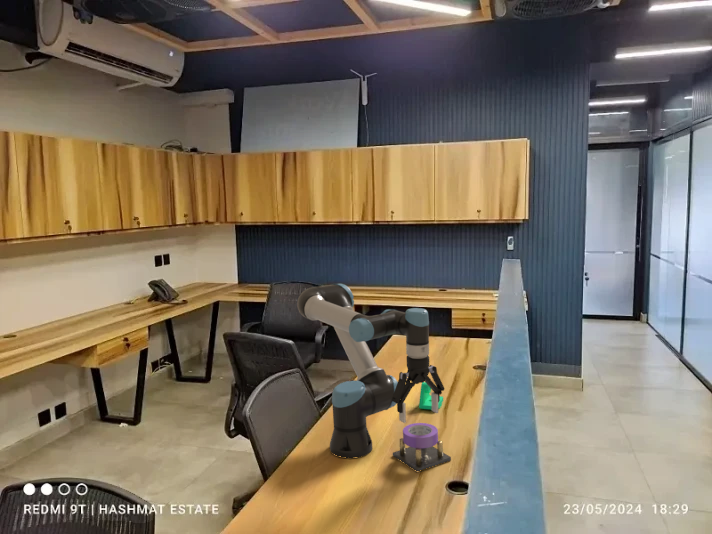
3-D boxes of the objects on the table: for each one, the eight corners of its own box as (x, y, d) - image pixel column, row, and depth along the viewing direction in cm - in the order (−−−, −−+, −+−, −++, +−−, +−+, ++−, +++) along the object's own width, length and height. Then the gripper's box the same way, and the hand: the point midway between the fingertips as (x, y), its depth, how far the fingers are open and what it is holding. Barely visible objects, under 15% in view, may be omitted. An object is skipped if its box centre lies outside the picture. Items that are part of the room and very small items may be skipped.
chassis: (417, 472, 171) (416, 454, 170) (392, 455, 183) (392, 438, 182) (451, 460, 178) (450, 442, 177) (425, 445, 190) (424, 428, 189)
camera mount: (437, 412, 219) (436, 388, 218) (419, 410, 222) (418, 387, 221) (443, 402, 230) (443, 379, 229) (426, 400, 233) (425, 377, 232)
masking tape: (417, 451, 172) (417, 440, 171) (396, 439, 181) (395, 428, 181) (445, 442, 178) (445, 431, 177) (423, 430, 187) (422, 420, 187)
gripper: (393, 365, 167) (394, 429, 170) (454, 351, 179) (455, 411, 182) (380, 359, 173) (381, 421, 176) (440, 346, 186) (440, 404, 188)
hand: (419, 416), depth 179 cm, fingers open, 13 cm apart
